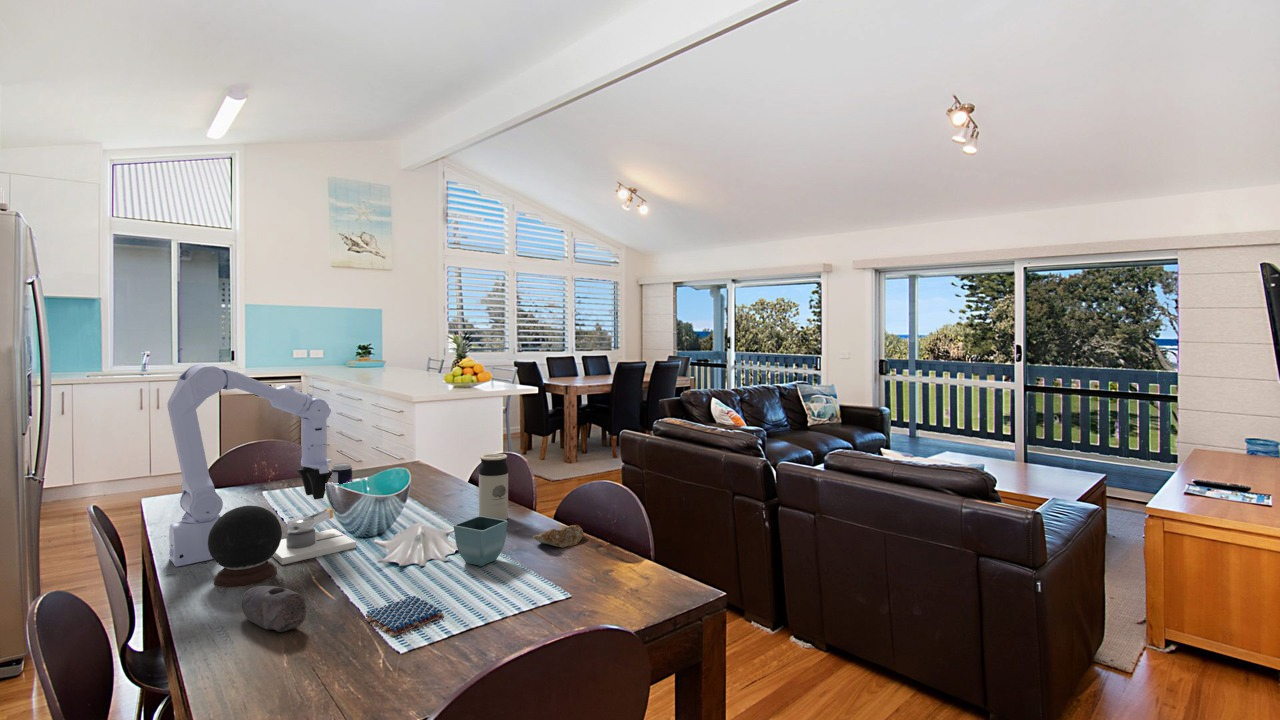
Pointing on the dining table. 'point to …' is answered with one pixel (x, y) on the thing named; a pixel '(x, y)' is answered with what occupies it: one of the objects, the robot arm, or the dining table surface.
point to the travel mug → (493, 486)
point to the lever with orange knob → (308, 522)
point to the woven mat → (404, 615)
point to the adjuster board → (311, 545)
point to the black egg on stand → (244, 546)
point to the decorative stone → (561, 536)
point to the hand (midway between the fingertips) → (314, 496)
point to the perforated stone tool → (274, 607)
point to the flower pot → (480, 539)
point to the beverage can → (341, 473)
